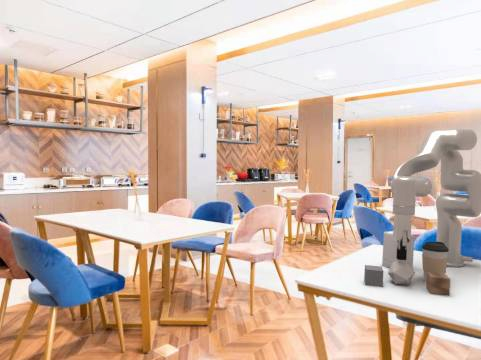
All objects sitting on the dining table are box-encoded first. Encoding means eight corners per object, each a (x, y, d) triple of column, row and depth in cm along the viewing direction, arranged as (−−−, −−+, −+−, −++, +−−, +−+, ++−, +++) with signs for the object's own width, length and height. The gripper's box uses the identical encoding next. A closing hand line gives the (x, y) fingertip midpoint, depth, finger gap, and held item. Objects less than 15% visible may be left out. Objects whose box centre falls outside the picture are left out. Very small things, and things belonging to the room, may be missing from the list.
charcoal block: (381, 282, 135) (381, 266, 135) (382, 287, 130) (383, 271, 129) (364, 280, 137) (364, 264, 137) (365, 285, 131) (365, 269, 131)
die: (411, 290, 128) (422, 267, 131) (389, 277, 130) (400, 254, 132) (401, 290, 136) (411, 268, 139) (380, 278, 137) (391, 256, 140)
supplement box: (398, 271, 149) (399, 235, 148) (381, 265, 157) (382, 231, 156) (413, 268, 153) (415, 234, 152) (396, 263, 161) (398, 230, 160)
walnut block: (444, 290, 128) (445, 273, 127) (449, 296, 122) (450, 278, 122) (425, 288, 129) (426, 271, 129) (429, 294, 124) (430, 277, 123)
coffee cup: (437, 287, 131) (439, 246, 130) (415, 279, 139) (416, 241, 138) (452, 283, 135) (454, 244, 134) (430, 276, 143) (431, 239, 142)
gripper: (390, 207, 141) (387, 253, 142) (395, 212, 127) (393, 263, 128) (410, 208, 139) (408, 255, 140) (419, 213, 125) (416, 265, 126)
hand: (401, 259), depth 134 cm, fingers closed
